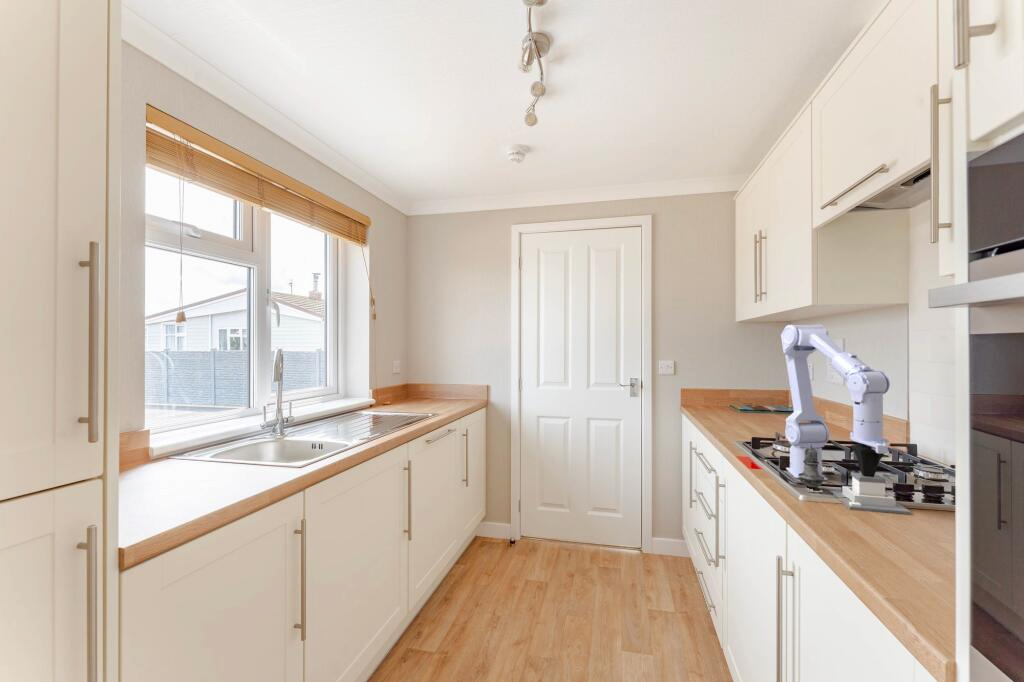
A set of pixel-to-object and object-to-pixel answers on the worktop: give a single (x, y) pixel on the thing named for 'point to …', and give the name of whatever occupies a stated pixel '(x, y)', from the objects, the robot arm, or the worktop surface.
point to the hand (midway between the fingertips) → (867, 475)
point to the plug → (868, 485)
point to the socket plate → (870, 502)
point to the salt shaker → (811, 470)
